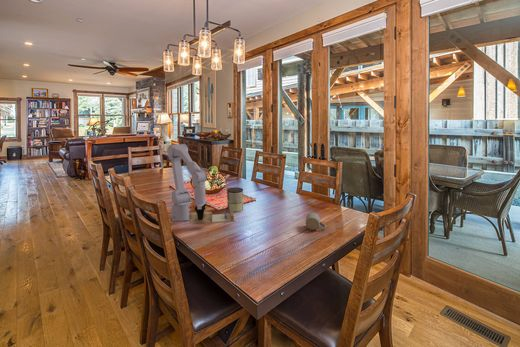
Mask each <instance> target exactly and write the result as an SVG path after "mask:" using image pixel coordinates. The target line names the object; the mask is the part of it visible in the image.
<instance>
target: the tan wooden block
mask: <svg viewBox="0 0 520 347" xmlns="http://www.w3.org/2000/svg"><path fill="white" fill-rule="evenodd" d="M188 214H189V220H188V222H189V223H188V224H195V223H196V224H199V223H200V224H203V223H202V222H212V215H213V211H206V212H204V214H203V220H198V216H197V213H196V211H193V212H192V211H191V212H188Z"/></svg>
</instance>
